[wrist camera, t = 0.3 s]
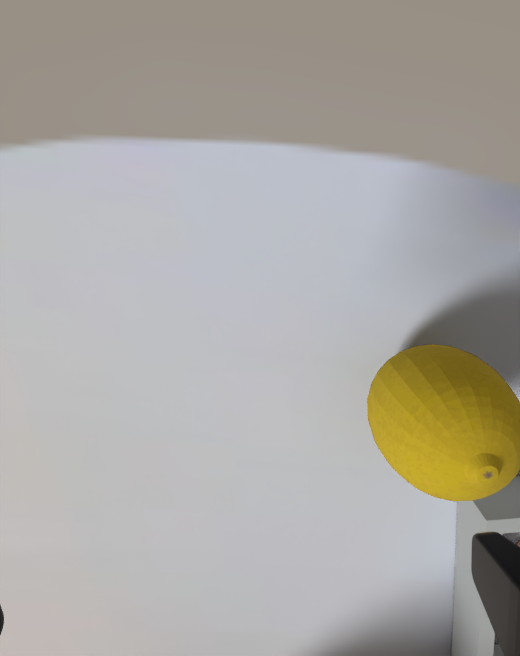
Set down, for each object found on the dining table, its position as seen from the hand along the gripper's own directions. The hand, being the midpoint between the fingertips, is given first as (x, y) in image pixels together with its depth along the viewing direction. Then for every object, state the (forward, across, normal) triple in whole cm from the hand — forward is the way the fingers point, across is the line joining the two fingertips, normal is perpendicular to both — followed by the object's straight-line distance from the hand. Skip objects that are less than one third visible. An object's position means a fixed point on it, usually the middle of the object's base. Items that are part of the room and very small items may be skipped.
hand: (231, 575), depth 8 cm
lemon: (+14, -8, +3) cm, 16 cm away
